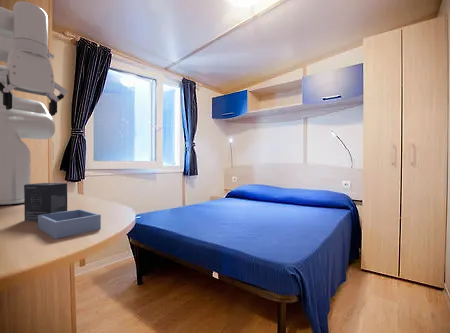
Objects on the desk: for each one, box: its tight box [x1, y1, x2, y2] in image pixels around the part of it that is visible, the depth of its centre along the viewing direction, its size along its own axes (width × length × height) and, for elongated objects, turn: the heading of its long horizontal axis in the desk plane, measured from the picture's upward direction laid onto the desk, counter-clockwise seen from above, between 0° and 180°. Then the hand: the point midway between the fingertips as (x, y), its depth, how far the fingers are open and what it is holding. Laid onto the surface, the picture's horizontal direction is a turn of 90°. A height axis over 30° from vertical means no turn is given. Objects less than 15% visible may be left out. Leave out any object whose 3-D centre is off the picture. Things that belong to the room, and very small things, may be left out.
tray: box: [37, 208, 102, 240], centre depth 55 cm, size 11×9×4 cm
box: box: [23, 182, 68, 223], centre depth 62 cm, size 8×6×11 cm
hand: (31, 112), depth 65 cm, fingers open, 9 cm apart
